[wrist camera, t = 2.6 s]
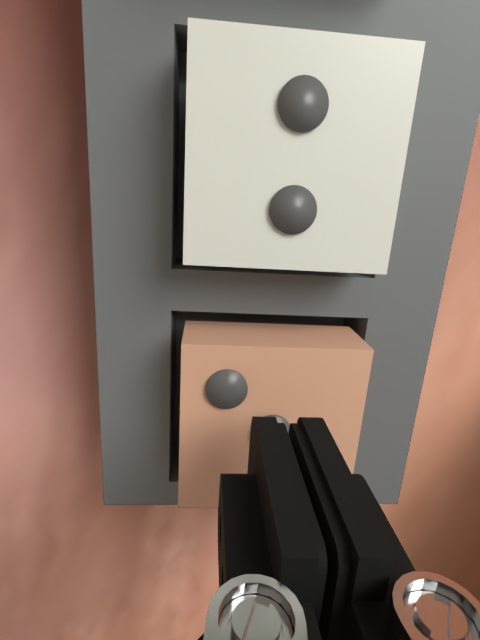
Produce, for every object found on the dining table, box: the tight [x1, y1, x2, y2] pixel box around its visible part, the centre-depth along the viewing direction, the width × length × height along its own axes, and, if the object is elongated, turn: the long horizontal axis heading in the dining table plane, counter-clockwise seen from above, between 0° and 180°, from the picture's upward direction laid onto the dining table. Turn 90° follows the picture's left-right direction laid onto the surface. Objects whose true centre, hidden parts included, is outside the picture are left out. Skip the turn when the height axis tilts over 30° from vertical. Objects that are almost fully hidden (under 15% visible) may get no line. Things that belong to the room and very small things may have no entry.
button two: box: [183, 17, 426, 275], centre depth 10 cm, size 5×5×2 cm
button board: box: [81, 0, 480, 505], centre depth 12 cm, size 22×10×3 cm, turn 176°
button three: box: [178, 321, 374, 508], centre depth 12 cm, size 5×5×2 cm
